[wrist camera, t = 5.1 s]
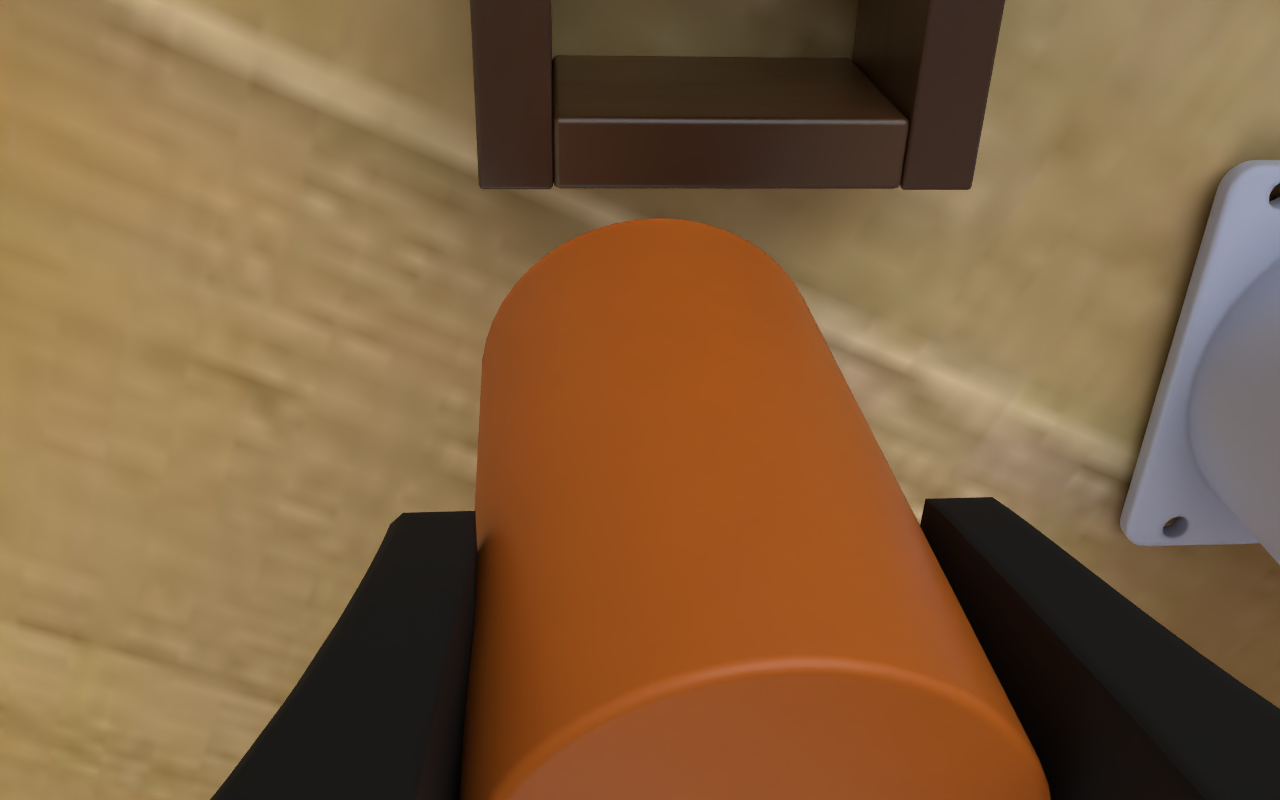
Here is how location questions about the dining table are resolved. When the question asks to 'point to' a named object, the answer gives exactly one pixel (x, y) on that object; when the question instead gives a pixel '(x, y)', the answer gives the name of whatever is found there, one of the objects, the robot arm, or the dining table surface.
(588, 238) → the orange cylinder
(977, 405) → the dining table surface
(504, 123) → the holder
